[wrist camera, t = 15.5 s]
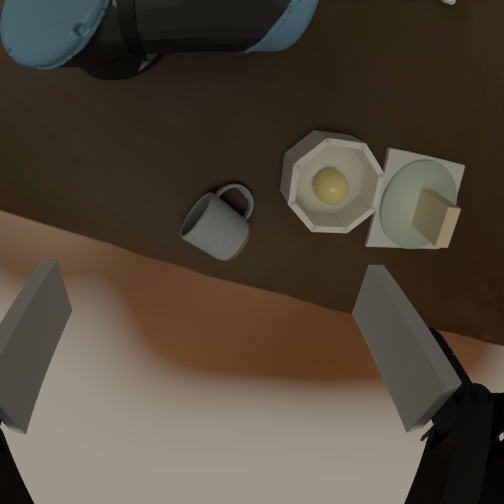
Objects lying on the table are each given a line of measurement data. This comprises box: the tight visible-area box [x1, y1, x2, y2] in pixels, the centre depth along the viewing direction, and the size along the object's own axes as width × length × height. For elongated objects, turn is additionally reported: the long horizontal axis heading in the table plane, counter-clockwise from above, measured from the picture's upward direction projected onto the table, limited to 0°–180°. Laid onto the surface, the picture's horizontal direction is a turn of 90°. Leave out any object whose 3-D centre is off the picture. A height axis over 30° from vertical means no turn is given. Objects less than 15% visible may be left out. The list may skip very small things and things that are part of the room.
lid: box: [379, 159, 461, 249], centre depth 46 cm, size 17×17×9 cm
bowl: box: [280, 130, 385, 233], centre depth 44 cm, size 14×14×6 cm
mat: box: [365, 147, 465, 249], centre depth 50 cm, size 18×18×1 cm
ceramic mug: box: [181, 184, 254, 261], centre depth 45 cm, size 11×8×8 cm
